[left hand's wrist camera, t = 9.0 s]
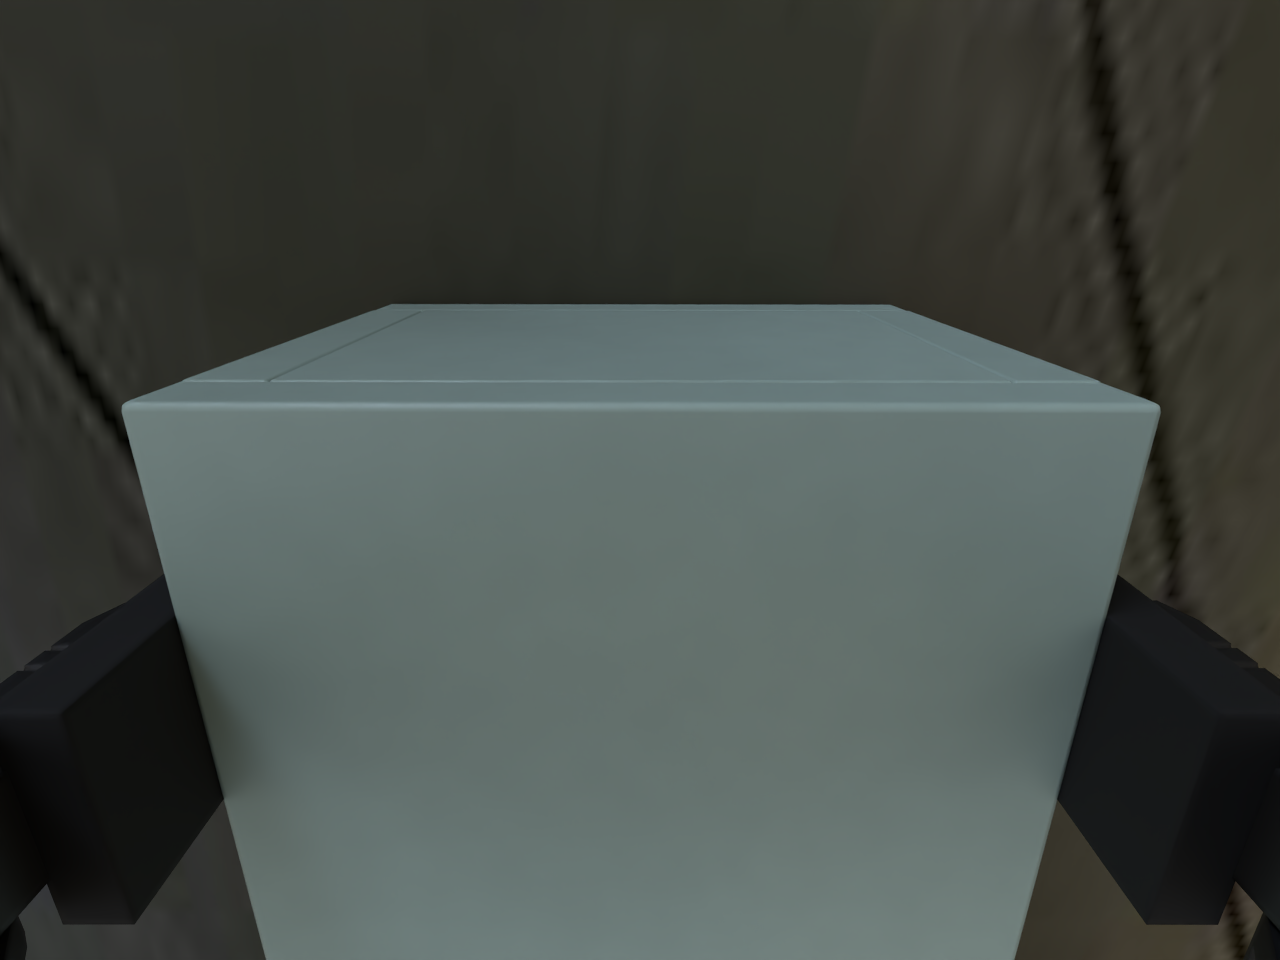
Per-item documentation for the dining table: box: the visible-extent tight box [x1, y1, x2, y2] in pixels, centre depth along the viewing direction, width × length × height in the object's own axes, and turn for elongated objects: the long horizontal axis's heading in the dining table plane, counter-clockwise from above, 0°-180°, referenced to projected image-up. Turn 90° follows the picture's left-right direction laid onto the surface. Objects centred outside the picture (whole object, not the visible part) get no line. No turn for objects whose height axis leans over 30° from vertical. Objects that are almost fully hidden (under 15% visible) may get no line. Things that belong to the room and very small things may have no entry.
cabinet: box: [122, 304, 1161, 960], centre depth 15 cm, size 20×11×8 cm, turn 0°
